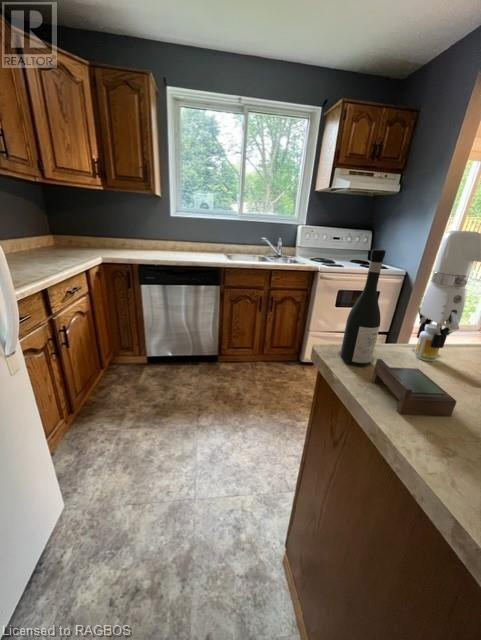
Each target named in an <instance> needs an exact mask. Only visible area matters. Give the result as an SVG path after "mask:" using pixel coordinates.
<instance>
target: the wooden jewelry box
mask: <svg viewBox="0 0 481 640" xmlns="http://www.w3.org/2000/svg"><path fill="white" fill-rule="evenodd" d="M370 383H371V384H382V385H385V386H386V387H387V388H388V389H389V390H390V391H391V393H392V394H394V396H395V397H396V398H397V399H398V400H399V401H398V403H397V408H396V412H397V413H398V415H400V416H418V417H419V416H420V417H421V416H422V417H443V418H445V417H446V418H451V417H452V415H453V413H454V410H455V408H456V404H457V401H458V400H456V399H455V398H454V397H453V396H451V395H450V394H449V393H448V392H447V391H445V390H444V389H443V388H442V387H441V386H439V385H438V384H437V383H436V382H435V381H434V380H433V379H432V378H430V377H429V376H428V375H427V374H425V372H424V371H422V370H421V369H419V368H415V367H413V368H412V367H392V366H389V365H388V364H387V363H386V362H385V361H384V360H383V359H382V358H376V362H375V366H374V369H373V374H372V378H371V382H370Z"/></svg>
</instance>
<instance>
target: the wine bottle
mask: <svg viewBox="0 0 481 640" xmlns="http://www.w3.org/2000/svg"><path fill="white" fill-rule="evenodd" d="M386 252H387V251H386V250H385V249H378V248H374V249H373V248H372V250H371V252H370V253H371V254H370V261H369V266H368V271H367V276H366V280H365V285H364V287H363V290H362V292H361V293H360V295H359V297H358V299H357V300H356V301H355V303H354V304H353V306H352V307H351V309H350V311H349V313H348V316H347V319H346V323H345V328H344V334H343V339H342V344H341V349H340V358H341V359H342V361H343V362H345V363H347V364H348V365H351V366H355V367H366V366H368V365H370V364H371V363H372V360H373V356H374V352H375V348H376V344H377V340H378V337H379V336H378V335H379V331H380V327H381V319H382V318H381V310H380V305H379V304H380V303H379V299H378V284H379V279H380V276H381V270H382V266H383V263H384V258H386V257H385V256H386Z"/></svg>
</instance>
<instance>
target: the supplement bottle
mask: <svg viewBox="0 0 481 640" xmlns="http://www.w3.org/2000/svg"><path fill="white" fill-rule="evenodd" d="M442 329H444V328H443V327H442ZM436 332H437V324H433V323H432V324H426V326H425V331H422V332H421V333H420V336H419V338H417V342H416V346H415V349H414V354H413V355H414V356H415V357H416V358H417V359H419V360H422V361H425V362H435V361H436V360H437V357H438V354H439V352H440V348H432V347H431V346H430V345H431V342H432V339H433V336H434V334H437V333H436Z"/></svg>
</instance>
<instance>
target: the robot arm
mask: <svg viewBox="0 0 481 640" xmlns="http://www.w3.org/2000/svg"><path fill="white" fill-rule="evenodd" d="M474 262H478V263H481V232H478V231H473V230H449V231H447V232H446V233H445V234H444V236H443V239H442V243H441V245H440V248H439V252H438V255H437V259H436V263H435V266H434V269H433V272H432V276H431V280H430V283H429V285H428V287H427V288H426V291H425V294H424V296H423V299H422V302H421V306H420V307H419V308H418V309H417V312H418V314H419V328H418V331H417V335H416V338H417V339H419V336H420V333H421V332H422V331H425V326H426V324H433V322H434V323H436V325H437V332H436V333H437V334H434V336H433V339H432V342H431V345H430V346H431V347H432V348H439V349H443V348H444V346H445V343H446V340H447V337H448V336H450V334H452V333H454V332H456V331H458V330H460V325H459V324H460V322H461V319H462V317H463V314H464V310H465V305H466V299H467V288H466V286H467V284H468V280H469V276H470V274H471V271H472V269H473V266H474ZM443 326H444V328H443ZM442 328H443V329H442Z"/></svg>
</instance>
